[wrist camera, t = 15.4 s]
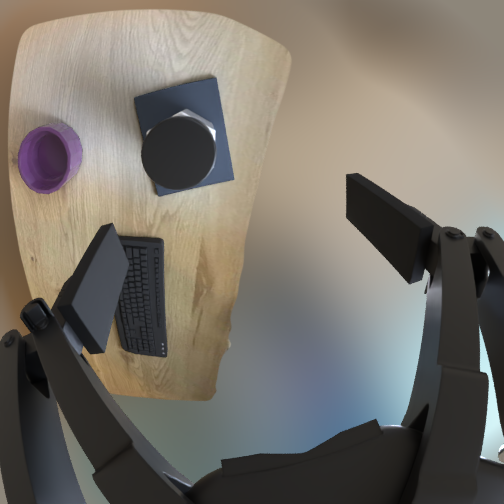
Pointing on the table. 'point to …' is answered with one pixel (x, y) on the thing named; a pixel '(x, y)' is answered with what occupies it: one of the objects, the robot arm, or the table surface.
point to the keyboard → (143, 298)
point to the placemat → (200, 102)
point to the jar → (180, 151)
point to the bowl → (49, 157)
